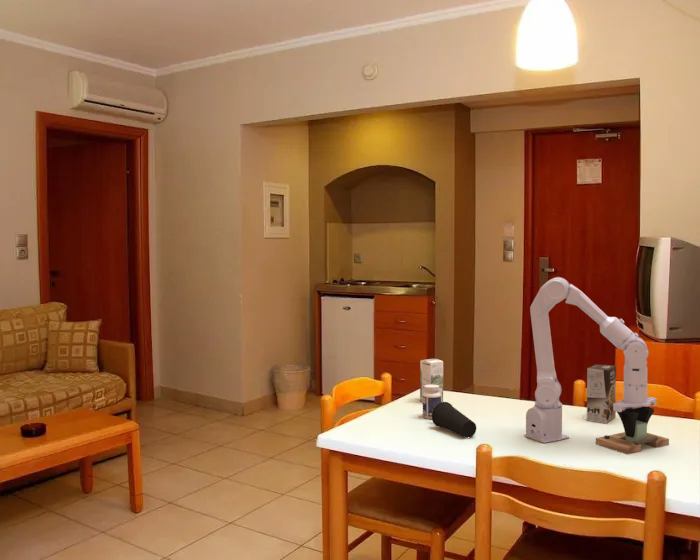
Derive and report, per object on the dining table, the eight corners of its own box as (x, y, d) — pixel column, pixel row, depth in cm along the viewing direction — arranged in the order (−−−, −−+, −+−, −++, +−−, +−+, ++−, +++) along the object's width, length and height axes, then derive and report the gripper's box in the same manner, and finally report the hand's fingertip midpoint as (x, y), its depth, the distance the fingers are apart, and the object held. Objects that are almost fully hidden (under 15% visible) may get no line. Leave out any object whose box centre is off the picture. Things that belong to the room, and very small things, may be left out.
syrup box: (432, 399, 226) (432, 358, 226) (443, 402, 221) (443, 360, 221) (419, 401, 223) (419, 359, 223) (430, 404, 218) (430, 362, 218)
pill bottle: (444, 416, 202) (444, 384, 202) (436, 420, 198) (436, 388, 197) (427, 414, 206) (427, 383, 205) (419, 418, 201) (419, 386, 200)
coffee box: (608, 424, 192) (608, 369, 191) (586, 420, 195) (586, 367, 195) (616, 417, 199) (616, 365, 198) (595, 414, 203) (595, 363, 202)
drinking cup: (459, 447, 178) (423, 423, 196) (482, 437, 181) (444, 414, 199) (455, 422, 176) (418, 400, 194) (478, 412, 179) (439, 392, 197)
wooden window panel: (627, 454, 163) (627, 444, 163) (595, 444, 172) (595, 434, 172) (668, 444, 171) (669, 434, 170) (636, 435, 179) (636, 426, 179)
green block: (637, 443, 168) (637, 424, 167) (625, 440, 171) (625, 421, 171) (646, 441, 169) (646, 423, 169) (634, 438, 173) (635, 419, 172)
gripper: (629, 390, 163) (629, 443, 163) (667, 383, 170) (666, 435, 170) (606, 385, 169) (606, 436, 170) (643, 379, 176) (643, 428, 176)
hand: (634, 435), depth 170 cm, fingers closed on green block, 3 cm apart
